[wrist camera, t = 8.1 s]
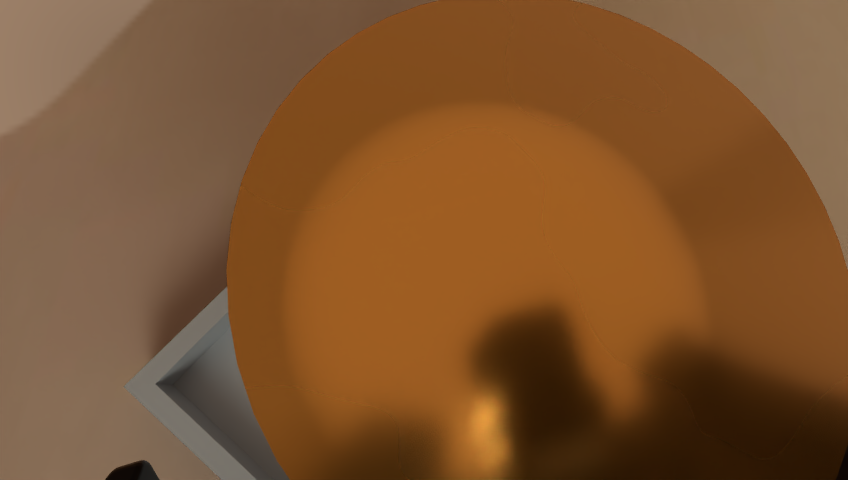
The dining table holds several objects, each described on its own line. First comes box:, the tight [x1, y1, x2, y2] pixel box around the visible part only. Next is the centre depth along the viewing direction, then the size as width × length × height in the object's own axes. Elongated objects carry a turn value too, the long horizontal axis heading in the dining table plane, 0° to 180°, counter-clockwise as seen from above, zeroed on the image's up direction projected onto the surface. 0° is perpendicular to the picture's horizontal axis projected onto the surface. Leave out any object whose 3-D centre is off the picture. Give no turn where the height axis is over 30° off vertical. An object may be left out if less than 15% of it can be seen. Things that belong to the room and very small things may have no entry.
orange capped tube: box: [227, 0, 848, 480], centre depth 10 cm, size 5×5×14 cm
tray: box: [124, 287, 290, 480], centre depth 16 cm, size 11×11×2 cm
